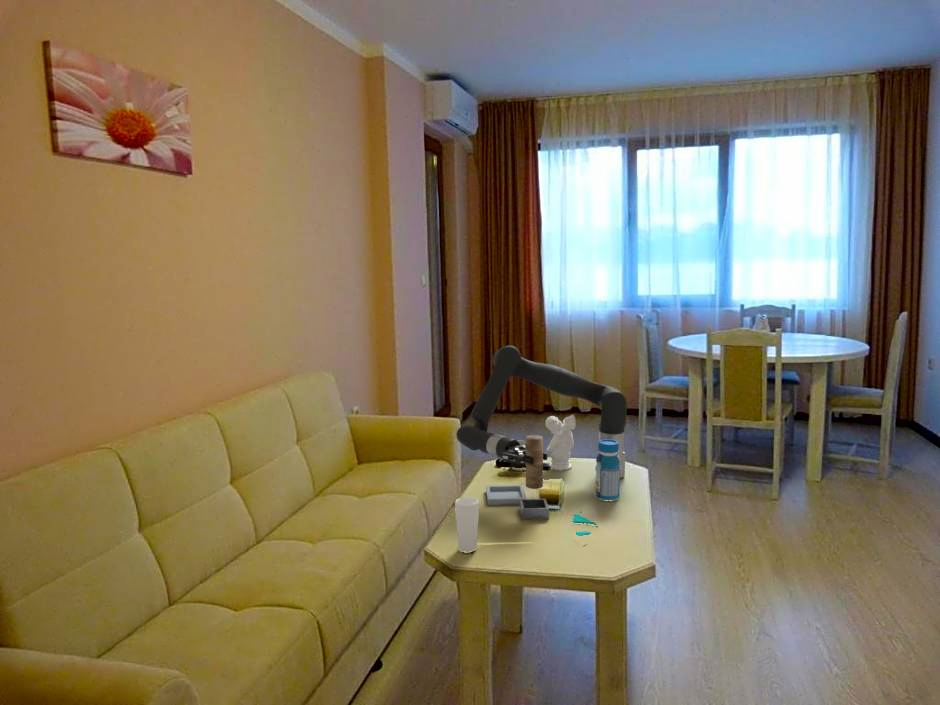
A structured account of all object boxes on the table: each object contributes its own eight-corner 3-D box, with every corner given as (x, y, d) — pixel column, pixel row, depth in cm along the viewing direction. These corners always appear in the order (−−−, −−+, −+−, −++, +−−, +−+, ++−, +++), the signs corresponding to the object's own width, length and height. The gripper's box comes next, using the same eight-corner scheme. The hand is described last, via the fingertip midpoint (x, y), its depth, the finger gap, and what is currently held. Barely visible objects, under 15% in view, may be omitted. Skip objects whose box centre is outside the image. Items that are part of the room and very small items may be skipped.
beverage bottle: (609, 504, 235) (610, 447, 231) (589, 497, 241) (590, 441, 238) (625, 498, 240) (626, 442, 236) (605, 491, 246) (606, 436, 243)
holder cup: (545, 510, 230) (545, 498, 230) (549, 520, 222) (549, 508, 221) (519, 510, 230) (519, 499, 230) (522, 521, 222) (522, 509, 221)
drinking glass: (459, 557, 198) (458, 506, 195) (453, 547, 204) (452, 498, 202) (482, 553, 200) (481, 503, 197) (475, 543, 206) (474, 495, 204)
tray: (522, 491, 247) (522, 484, 247) (526, 505, 234) (526, 498, 234) (486, 492, 247) (486, 485, 247) (487, 506, 234) (487, 499, 234)
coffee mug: (506, 471, 268) (506, 446, 267) (509, 464, 277) (509, 439, 275) (537, 472, 266) (537, 447, 265) (538, 465, 275) (538, 441, 273)
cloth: (601, 552, 201) (601, 544, 201) (554, 545, 206) (554, 538, 205) (613, 517, 225) (613, 510, 225) (571, 512, 230) (571, 506, 230)
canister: (541, 482, 227) (541, 435, 224) (543, 488, 222) (543, 440, 219) (524, 482, 227) (524, 435, 224) (526, 489, 222) (526, 440, 219)
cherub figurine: (542, 468, 272) (541, 413, 269) (557, 459, 282) (557, 406, 279) (570, 473, 265) (570, 417, 262) (585, 464, 275) (585, 410, 272)
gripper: (487, 441, 228) (524, 452, 215) (518, 432, 237) (555, 443, 225) (487, 463, 229) (524, 476, 217) (518, 453, 239) (555, 465, 226)
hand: (540, 459), depth 221 cm, fingers closed on canister, 5 cm apart
